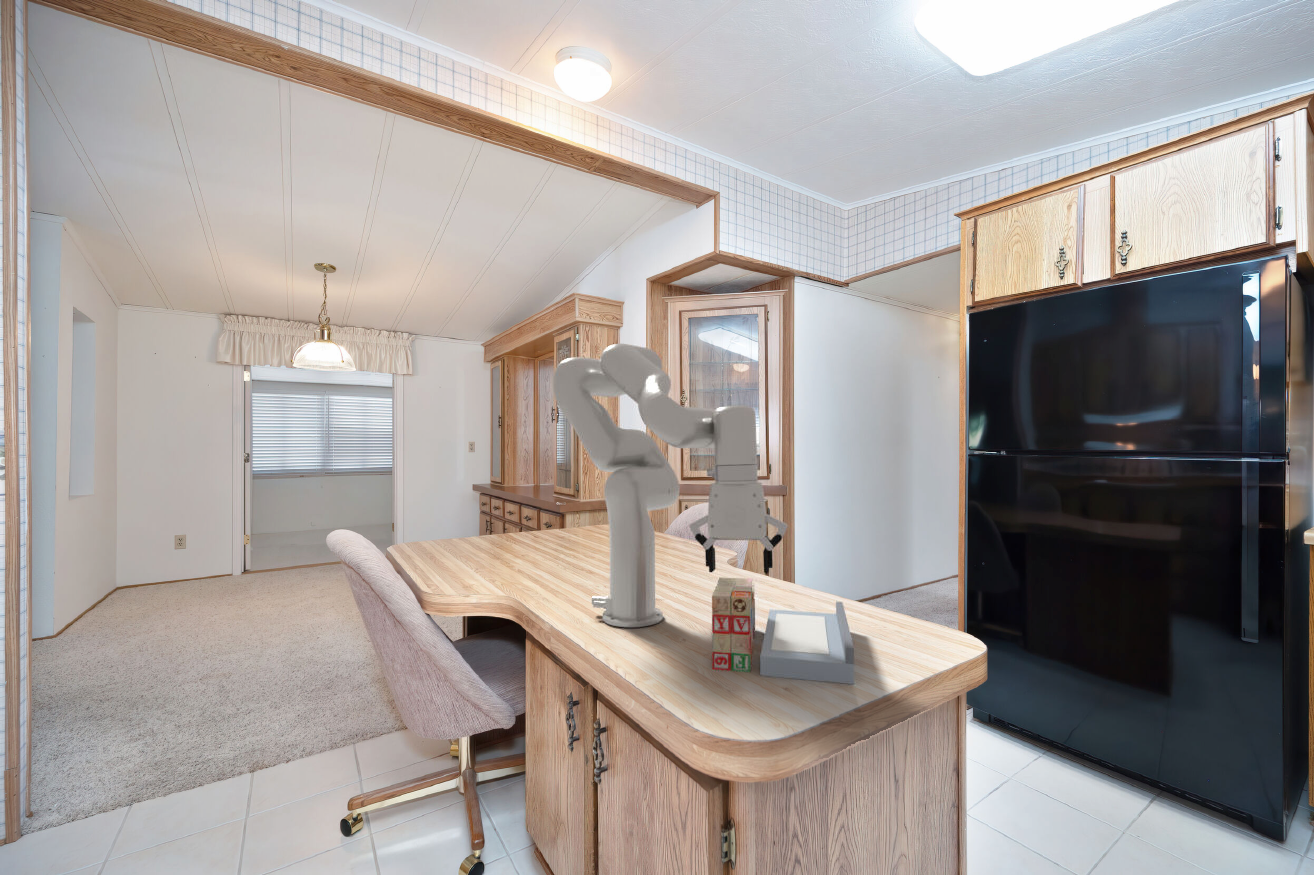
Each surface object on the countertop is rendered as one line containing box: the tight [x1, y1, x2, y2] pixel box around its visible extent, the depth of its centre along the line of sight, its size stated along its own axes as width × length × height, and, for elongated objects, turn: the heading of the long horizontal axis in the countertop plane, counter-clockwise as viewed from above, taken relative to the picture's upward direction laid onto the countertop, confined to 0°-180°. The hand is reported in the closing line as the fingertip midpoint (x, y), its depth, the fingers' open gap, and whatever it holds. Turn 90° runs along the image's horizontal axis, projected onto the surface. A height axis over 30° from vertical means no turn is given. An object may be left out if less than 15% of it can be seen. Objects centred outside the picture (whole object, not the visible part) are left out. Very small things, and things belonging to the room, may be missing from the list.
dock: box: [759, 601, 855, 685], centre depth 100 cm, size 14×26×5 cm, turn 166°
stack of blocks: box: [711, 577, 756, 673], centre depth 101 cm, size 21×6×12 cm, turn 168°
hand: (739, 571), depth 101 cm, fingers open, 9 cm apart
